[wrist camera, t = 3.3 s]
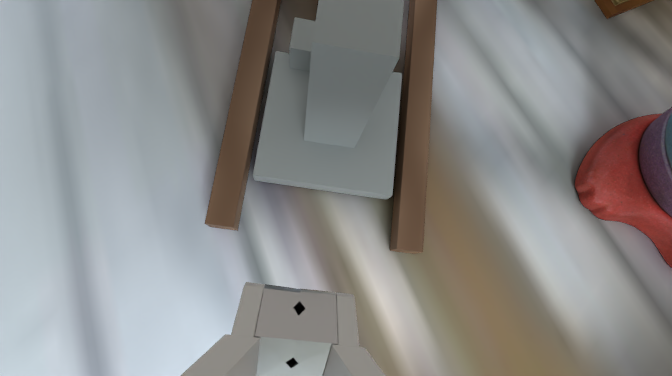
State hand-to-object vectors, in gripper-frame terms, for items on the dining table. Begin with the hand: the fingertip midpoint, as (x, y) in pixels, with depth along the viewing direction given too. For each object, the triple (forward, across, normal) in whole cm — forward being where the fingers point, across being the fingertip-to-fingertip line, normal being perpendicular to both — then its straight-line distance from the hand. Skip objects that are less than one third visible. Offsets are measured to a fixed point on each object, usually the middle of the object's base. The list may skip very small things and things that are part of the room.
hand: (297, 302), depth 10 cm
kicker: (+14, -1, 0) cm, 14 cm away
